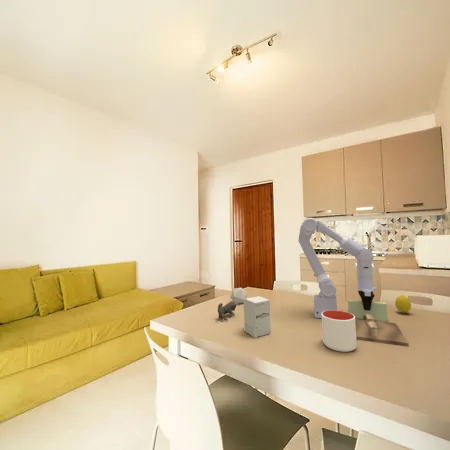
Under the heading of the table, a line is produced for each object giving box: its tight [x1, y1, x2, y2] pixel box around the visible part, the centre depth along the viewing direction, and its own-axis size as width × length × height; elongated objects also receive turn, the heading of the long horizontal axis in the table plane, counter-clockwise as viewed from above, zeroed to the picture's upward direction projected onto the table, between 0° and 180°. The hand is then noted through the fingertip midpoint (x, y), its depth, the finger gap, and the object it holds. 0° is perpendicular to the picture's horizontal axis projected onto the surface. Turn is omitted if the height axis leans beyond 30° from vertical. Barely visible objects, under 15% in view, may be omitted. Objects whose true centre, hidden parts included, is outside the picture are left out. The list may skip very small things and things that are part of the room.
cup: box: [321, 309, 358, 353], centre depth 78 cm, size 10×10×10 cm
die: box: [229, 287, 248, 305], centre depth 130 cm, size 8×9×10 cm
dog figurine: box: [217, 301, 237, 321], centre depth 109 cm, size 12×6×8 cm, turn 138°
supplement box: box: [243, 295, 272, 338], centre depth 91 cm, size 7×7×13 cm
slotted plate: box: [347, 299, 389, 322], centre depth 101 cm, size 14×2×7 cm, turn 65°
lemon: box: [394, 294, 412, 314], centre depth 105 cm, size 6×6×8 cm
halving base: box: [355, 314, 410, 347], centre depth 88 cm, size 18×18×4 cm
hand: (366, 309), depth 101 cm, fingers open, 2 cm apart
